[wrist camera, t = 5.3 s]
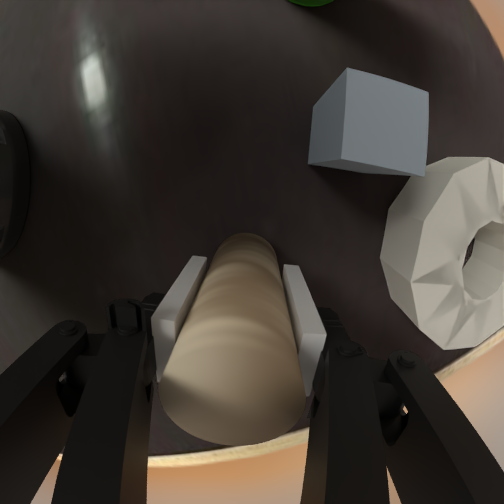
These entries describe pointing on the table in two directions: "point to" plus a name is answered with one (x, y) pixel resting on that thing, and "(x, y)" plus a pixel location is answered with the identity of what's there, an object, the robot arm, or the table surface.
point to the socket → (449, 250)
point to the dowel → (236, 352)
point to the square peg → (370, 126)
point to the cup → (311, 2)
